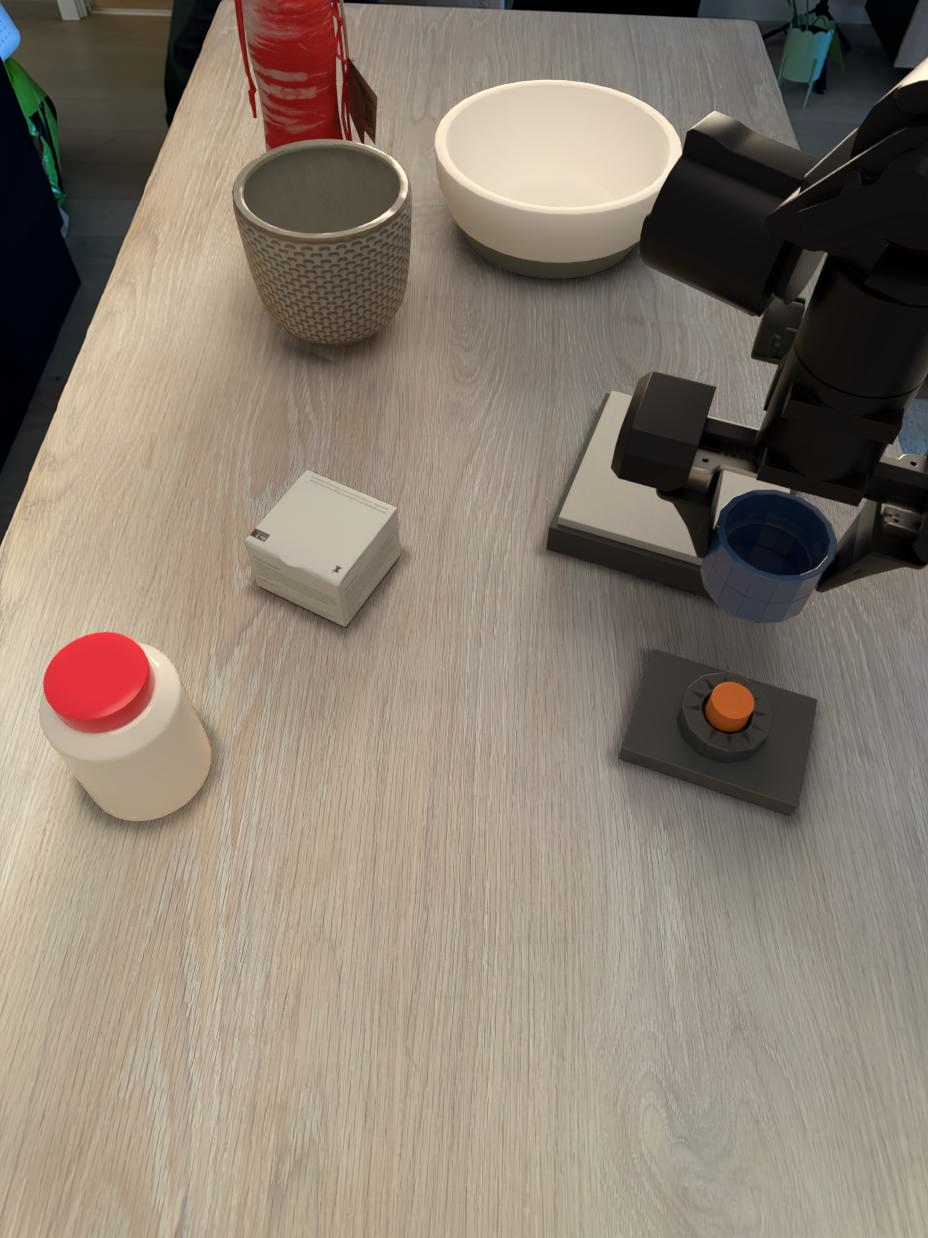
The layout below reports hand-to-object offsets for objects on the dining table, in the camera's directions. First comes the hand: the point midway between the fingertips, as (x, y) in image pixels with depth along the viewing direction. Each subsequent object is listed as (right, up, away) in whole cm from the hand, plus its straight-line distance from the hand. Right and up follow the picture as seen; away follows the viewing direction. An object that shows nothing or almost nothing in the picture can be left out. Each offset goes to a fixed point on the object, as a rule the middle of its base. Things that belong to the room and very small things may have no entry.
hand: (760, 568), depth 54 cm
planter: (-28, +23, +30) cm, 47 cm away
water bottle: (-30, +37, +39) cm, 62 cm away
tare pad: (-1, -10, +7) cm, 13 cm away
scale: (-1, +6, +18) cm, 19 cm away
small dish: (0, -1, +1) cm, 1 cm away
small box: (-27, +1, +14) cm, 30 cm away
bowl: (-9, +36, +38) cm, 53 cm away
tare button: (-1, -9, +5) cm, 10 cm away
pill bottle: (-37, -12, +6) cm, 39 cm away
